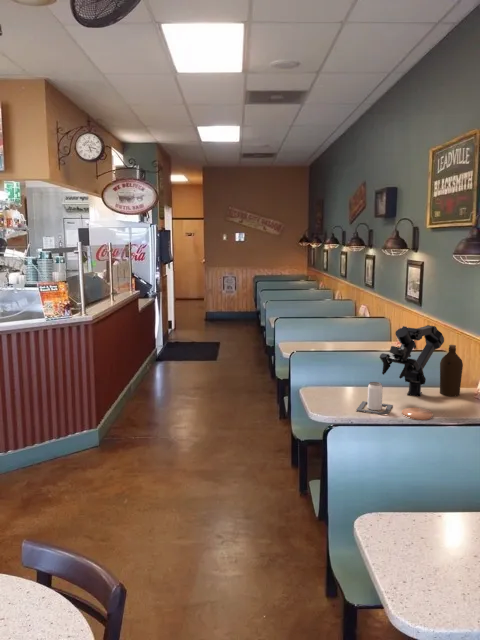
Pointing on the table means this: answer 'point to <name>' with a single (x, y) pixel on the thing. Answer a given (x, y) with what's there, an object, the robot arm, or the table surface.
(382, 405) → the gray square frame
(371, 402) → the can
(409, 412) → the plate
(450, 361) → the olive oil
